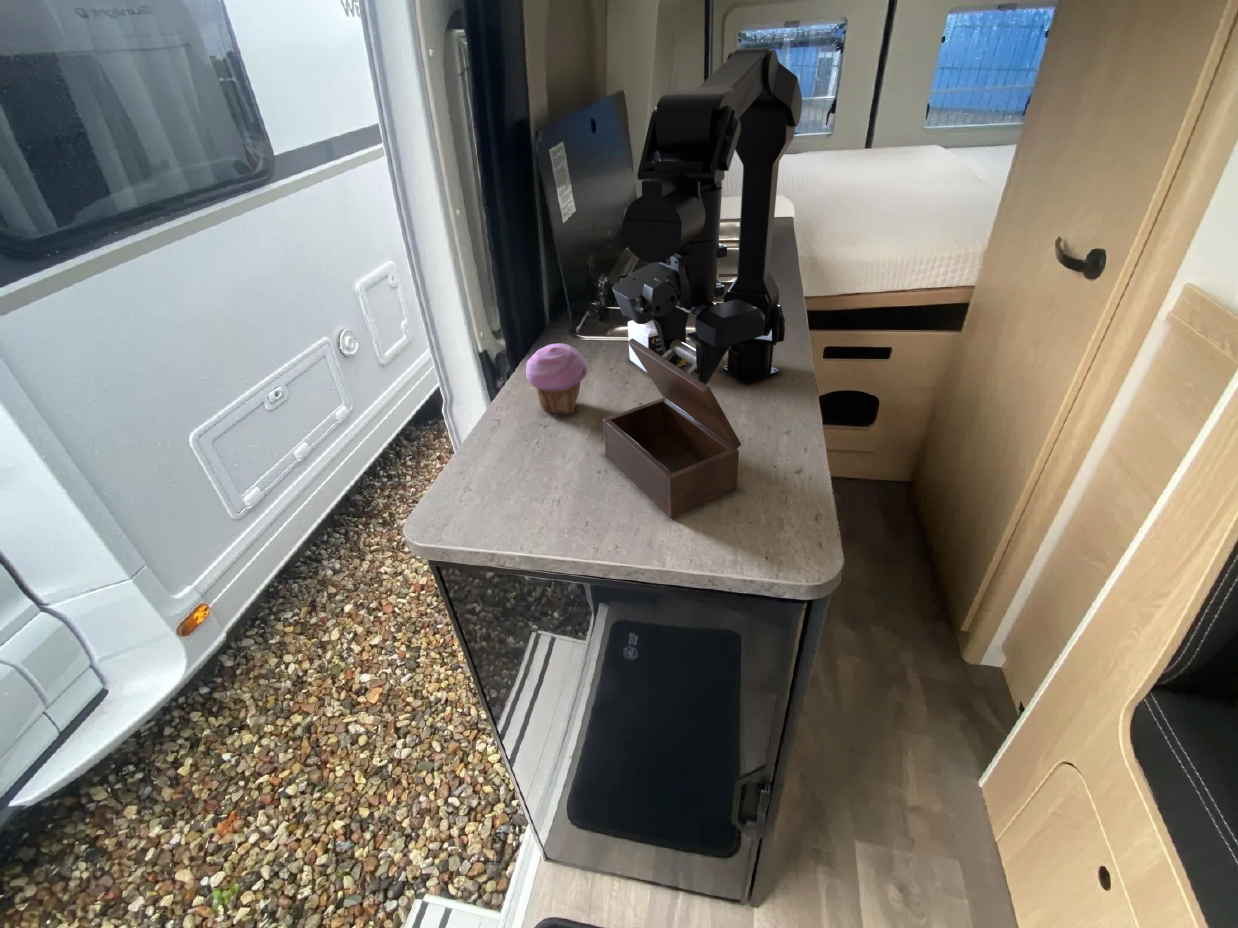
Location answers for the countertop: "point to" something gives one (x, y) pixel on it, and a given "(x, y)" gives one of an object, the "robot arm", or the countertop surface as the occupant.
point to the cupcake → (557, 377)
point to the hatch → (685, 387)
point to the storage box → (671, 456)
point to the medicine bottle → (648, 341)
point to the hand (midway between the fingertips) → (686, 374)
